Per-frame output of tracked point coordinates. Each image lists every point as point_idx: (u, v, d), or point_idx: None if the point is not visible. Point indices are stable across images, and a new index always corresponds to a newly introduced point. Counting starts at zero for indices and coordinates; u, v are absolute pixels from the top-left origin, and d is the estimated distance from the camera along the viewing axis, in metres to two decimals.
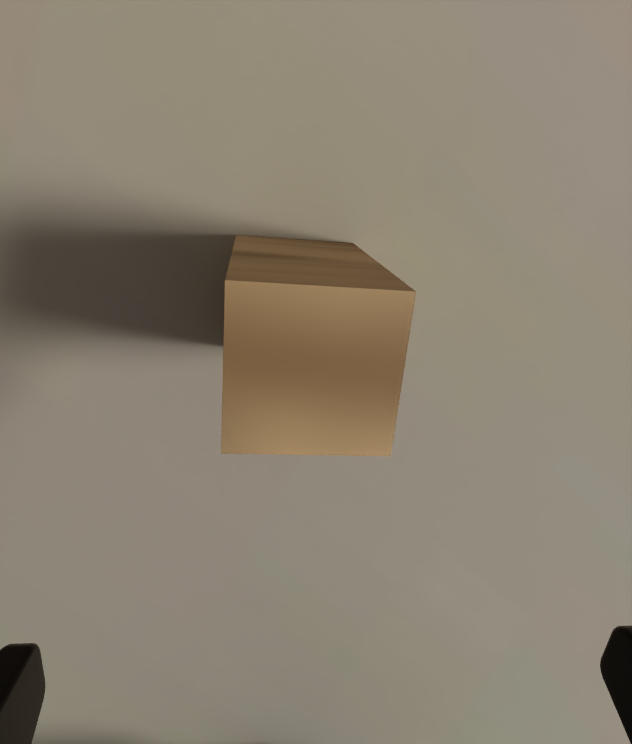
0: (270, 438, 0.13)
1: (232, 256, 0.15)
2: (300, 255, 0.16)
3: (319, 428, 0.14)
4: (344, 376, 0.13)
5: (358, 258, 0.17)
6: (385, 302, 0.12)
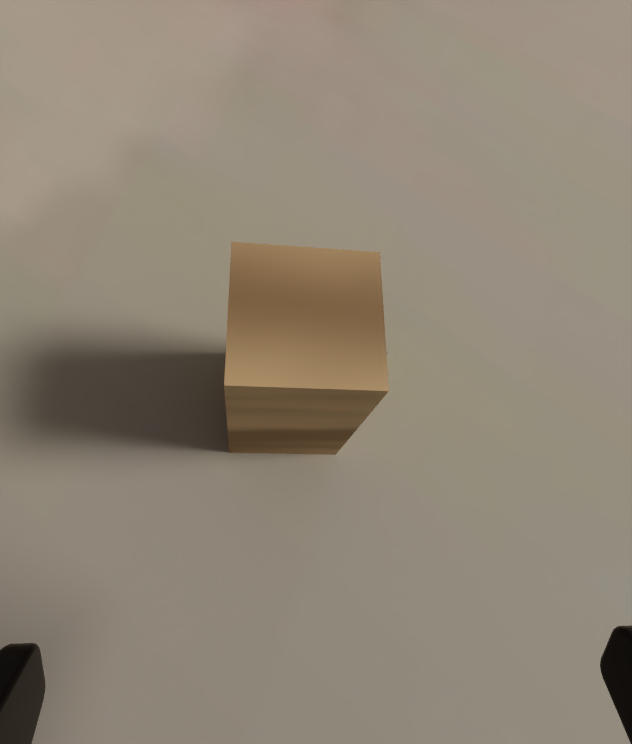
0: (271, 370, 0.14)
1: None
2: None
3: (316, 361, 0.14)
4: (333, 315, 0.15)
5: None
6: (357, 259, 0.16)
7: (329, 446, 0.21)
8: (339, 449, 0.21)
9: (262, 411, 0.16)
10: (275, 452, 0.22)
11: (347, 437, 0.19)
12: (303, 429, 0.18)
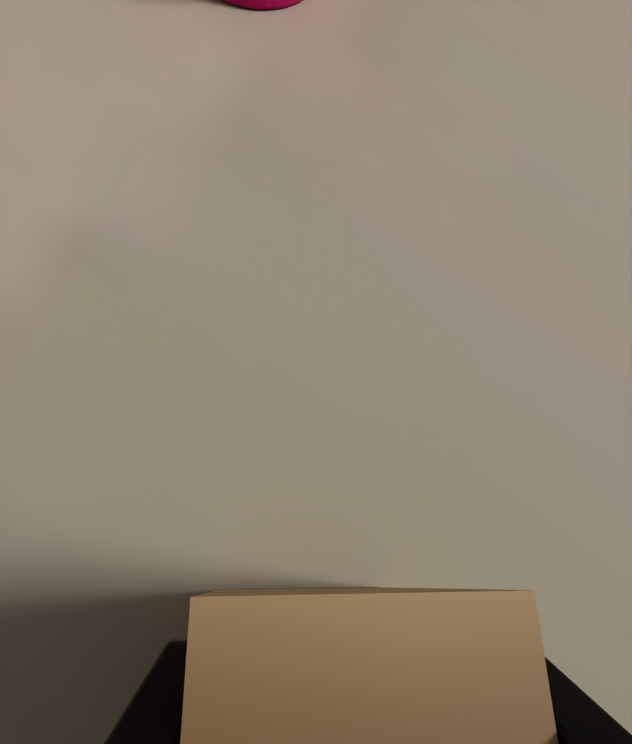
0: None
1: None
2: None
3: None
4: None
5: None
6: (487, 616, 0.07)
7: None
8: None
9: None
10: None
11: None
12: None
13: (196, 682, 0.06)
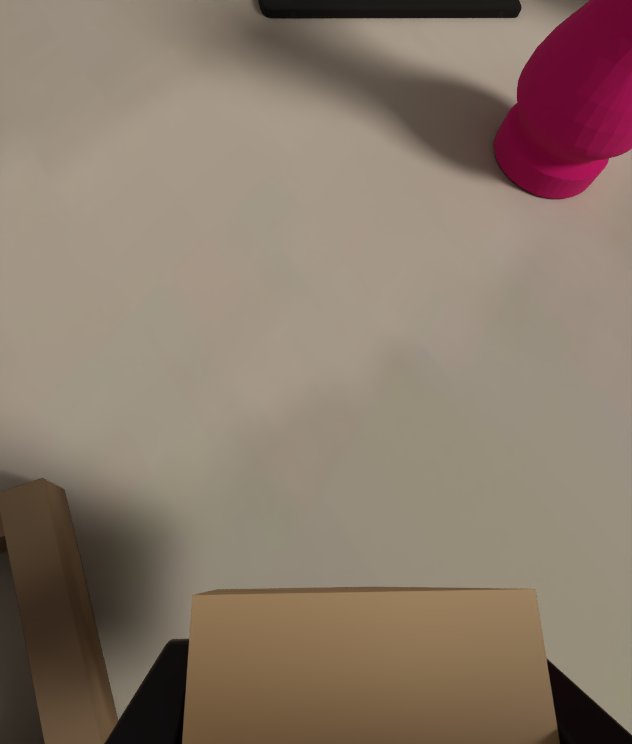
0: None
1: (209, 591, 0.10)
2: None
3: None
4: None
5: None
6: (488, 615, 0.07)
7: None
8: None
9: None
10: None
11: None
12: None
13: (198, 680, 0.06)
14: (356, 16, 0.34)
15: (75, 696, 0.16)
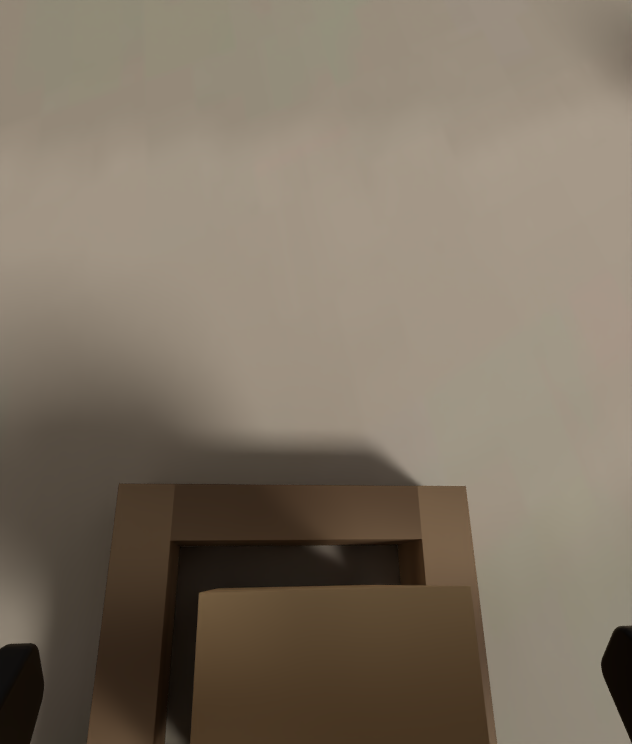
0: None
1: None
2: (300, 587, 0.13)
3: None
4: None
5: (374, 585, 0.13)
6: (432, 606, 0.09)
7: None
8: None
9: None
10: None
11: None
12: None
13: (204, 658, 0.08)
14: None
15: None
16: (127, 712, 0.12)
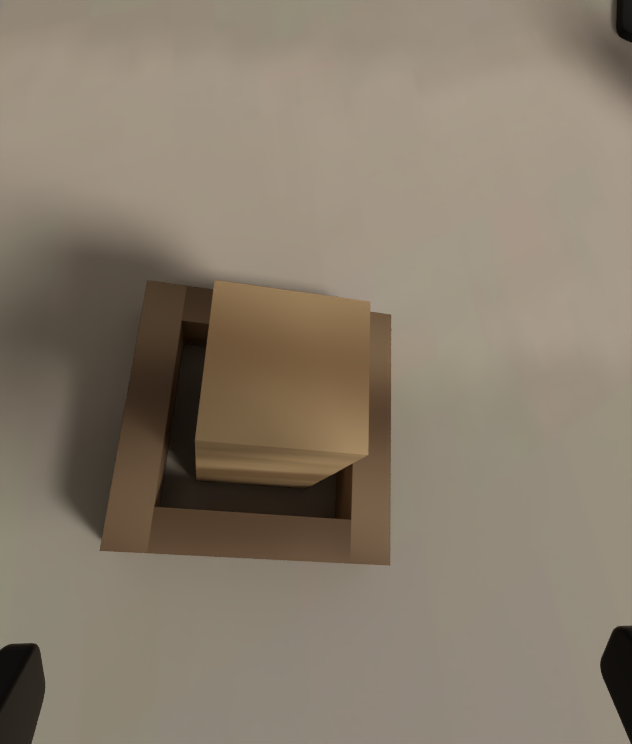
0: (246, 426, 0.13)
1: None
2: None
3: (295, 418, 0.14)
4: (317, 368, 0.14)
5: None
6: (346, 307, 0.15)
7: (301, 483, 0.20)
8: (311, 485, 0.21)
9: (234, 458, 0.15)
10: (244, 483, 0.21)
11: (320, 479, 0.19)
12: (275, 472, 0.18)
13: (215, 310, 0.14)
14: None
15: (379, 481, 0.20)
16: (148, 416, 0.19)
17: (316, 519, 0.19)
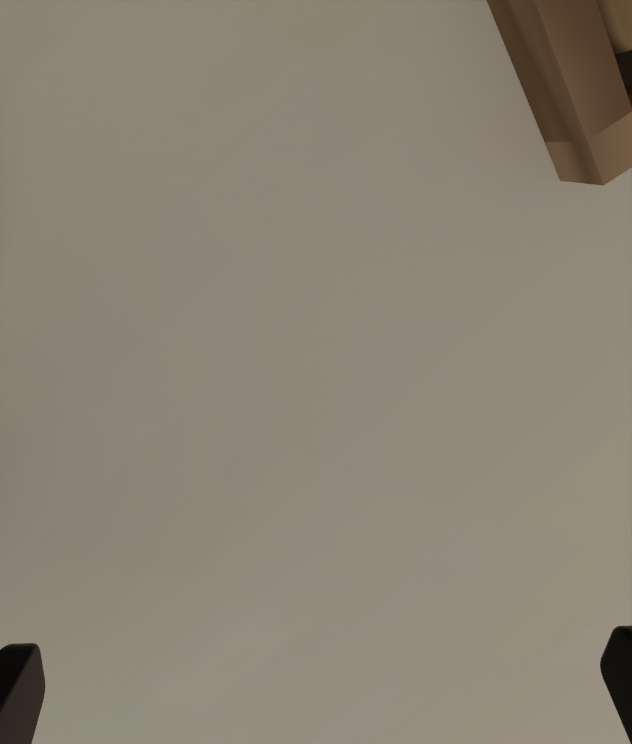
0: None
1: None
2: None
3: None
4: None
5: None
6: None
7: (630, 31, 0.16)
8: (625, 50, 0.16)
9: None
10: None
11: None
12: None
13: None
14: None
15: None
16: None
17: (616, 69, 0.15)
